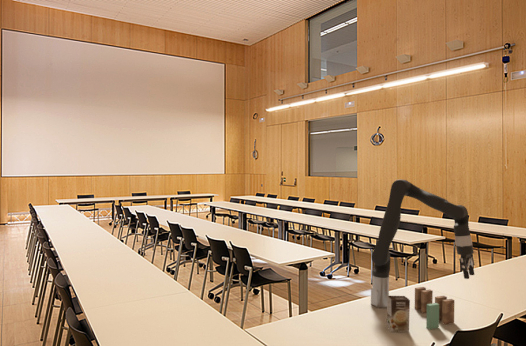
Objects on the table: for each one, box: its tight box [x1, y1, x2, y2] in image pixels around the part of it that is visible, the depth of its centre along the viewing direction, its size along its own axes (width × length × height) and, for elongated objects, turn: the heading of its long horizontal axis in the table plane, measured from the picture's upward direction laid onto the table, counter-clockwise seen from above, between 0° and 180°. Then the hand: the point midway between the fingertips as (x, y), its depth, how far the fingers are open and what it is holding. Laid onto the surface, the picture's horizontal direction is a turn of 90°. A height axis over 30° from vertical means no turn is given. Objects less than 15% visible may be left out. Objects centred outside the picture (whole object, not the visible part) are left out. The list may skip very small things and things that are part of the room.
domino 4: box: [434, 295, 448, 321], centre depth 197 cm, size 6×2×12 cm, turn 109°
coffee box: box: [386, 295, 411, 333], centre depth 184 cm, size 9×6×16 cm
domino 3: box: [425, 302, 440, 330], centre depth 186 cm, size 6×2×12 cm, turn 109°
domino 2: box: [420, 289, 434, 314], centre depth 206 cm, size 6×2×12 cm, turn 109°
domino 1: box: [414, 286, 427, 311], centre depth 211 cm, size 6×2×12 cm, turn 109°
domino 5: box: [441, 298, 455, 325], centre depth 192 cm, size 6×2×12 cm, turn 109°
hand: (469, 276), depth 186 cm, fingers open, 8 cm apart
